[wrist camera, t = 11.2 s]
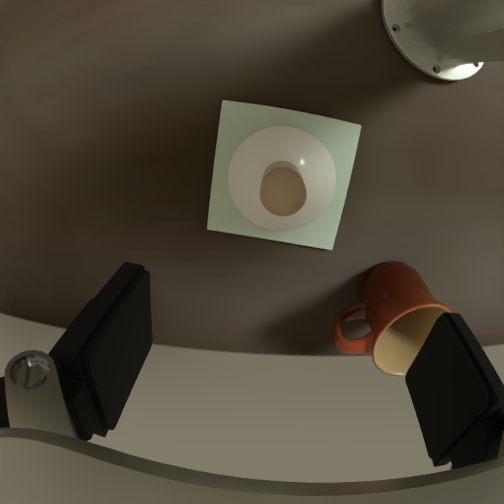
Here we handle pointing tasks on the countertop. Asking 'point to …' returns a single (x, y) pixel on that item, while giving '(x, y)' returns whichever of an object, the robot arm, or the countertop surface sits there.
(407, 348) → the mug
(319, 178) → the lid
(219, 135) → the mat
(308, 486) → the robot arm
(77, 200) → the countertop surface
